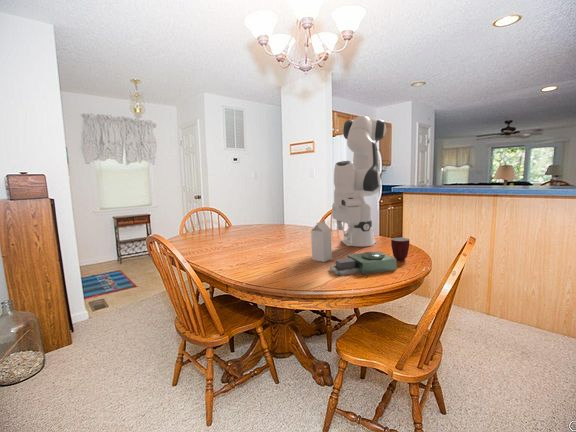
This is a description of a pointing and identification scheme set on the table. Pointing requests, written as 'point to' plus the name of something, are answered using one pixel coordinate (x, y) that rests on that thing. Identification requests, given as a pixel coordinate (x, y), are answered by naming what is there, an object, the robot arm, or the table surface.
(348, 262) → the grey rectangular block
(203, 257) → the table surface
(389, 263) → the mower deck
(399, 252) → the mug
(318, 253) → the milk carton
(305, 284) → the table surface
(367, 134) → the robot arm
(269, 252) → the table surface
